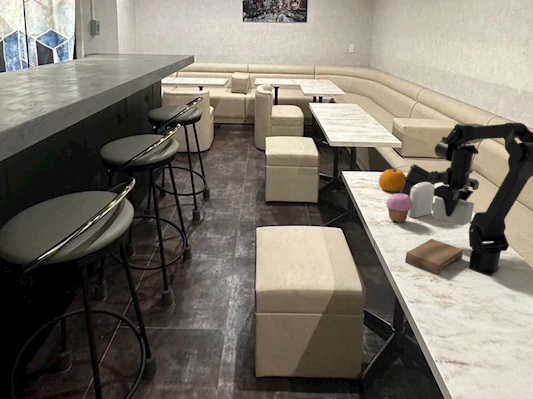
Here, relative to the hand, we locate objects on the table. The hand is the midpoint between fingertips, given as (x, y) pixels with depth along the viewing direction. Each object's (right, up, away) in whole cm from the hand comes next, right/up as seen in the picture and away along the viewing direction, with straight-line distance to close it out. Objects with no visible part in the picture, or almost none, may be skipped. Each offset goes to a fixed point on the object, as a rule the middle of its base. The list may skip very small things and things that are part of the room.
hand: (452, 214), depth 145 cm
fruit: (-4, +8, +55) cm, 56 cm away
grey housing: (0, -2, +1) cm, 2 cm away
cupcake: (-11, -3, +21) cm, 24 cm away
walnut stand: (-9, -13, -9) cm, 18 cm away
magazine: (+2, +3, +41) cm, 42 cm away
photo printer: (-1, -1, +27) cm, 27 cm away
